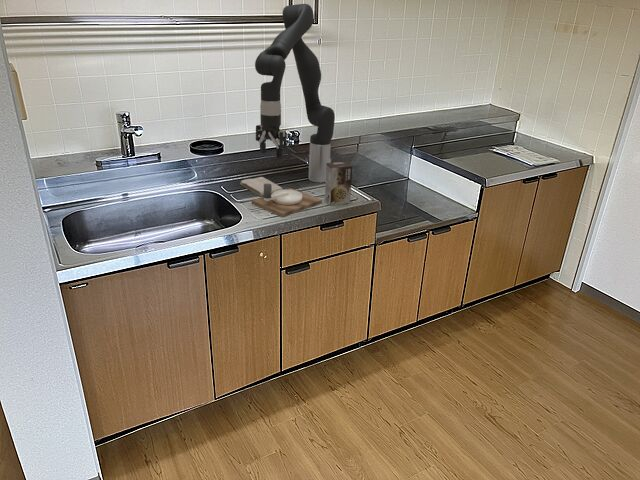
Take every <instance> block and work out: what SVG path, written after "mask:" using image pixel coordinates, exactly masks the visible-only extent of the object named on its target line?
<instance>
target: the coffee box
mask: <svg viewBox="0 0 640 480" xmlns="http://www.w3.org/2000/svg"><path fill="white" fill-rule="evenodd" d="M352 178H353V165H352V164H350V162H348V161H334V162H331V163H327V164H326V182H325V186H324V201H325V202H326V203H327V204H328V205H329V206H338V204H339V205H346V203H348V204H350V203H351V194H352Z"/></svg>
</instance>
